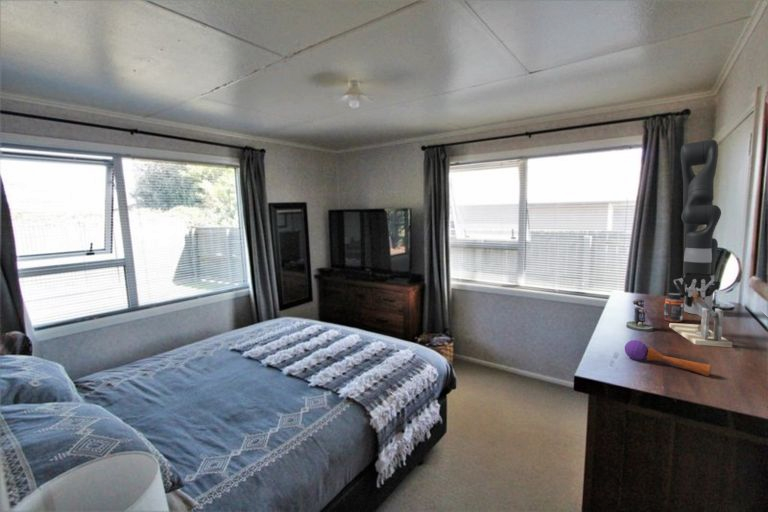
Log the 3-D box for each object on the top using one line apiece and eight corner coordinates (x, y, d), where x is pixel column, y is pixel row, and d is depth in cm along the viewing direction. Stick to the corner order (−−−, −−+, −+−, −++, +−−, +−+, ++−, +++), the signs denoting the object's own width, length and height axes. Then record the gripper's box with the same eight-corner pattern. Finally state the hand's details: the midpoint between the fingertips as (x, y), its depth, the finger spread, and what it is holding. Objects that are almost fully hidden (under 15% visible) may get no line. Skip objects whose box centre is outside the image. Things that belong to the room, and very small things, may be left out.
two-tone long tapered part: (709, 366, 95) (622, 342, 109) (706, 385, 96) (621, 359, 111) (713, 356, 98) (628, 334, 113) (709, 374, 100) (627, 350, 115)
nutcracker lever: (716, 324, 120) (719, 313, 118) (706, 324, 120) (709, 312, 119) (692, 301, 134) (695, 291, 133) (684, 301, 135) (686, 291, 134)
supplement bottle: (686, 322, 144) (688, 295, 143) (671, 322, 144) (673, 295, 143) (674, 318, 150) (676, 292, 149) (660, 318, 150) (661, 292, 149)
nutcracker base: (669, 326, 139) (671, 296, 138) (700, 328, 136) (702, 298, 135) (695, 344, 120) (697, 310, 119) (732, 347, 117) (735, 311, 116)
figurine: (621, 326, 141) (623, 297, 139) (634, 323, 144) (635, 294, 143) (645, 332, 133) (646, 301, 132) (657, 329, 137) (659, 298, 136)
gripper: (715, 259, 131) (711, 305, 132) (669, 258, 135) (667, 303, 137) (727, 261, 123) (723, 310, 125) (679, 261, 128) (675, 308, 130)
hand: (694, 306), depth 131 cm, fingers closed on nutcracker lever, 2 cm apart
